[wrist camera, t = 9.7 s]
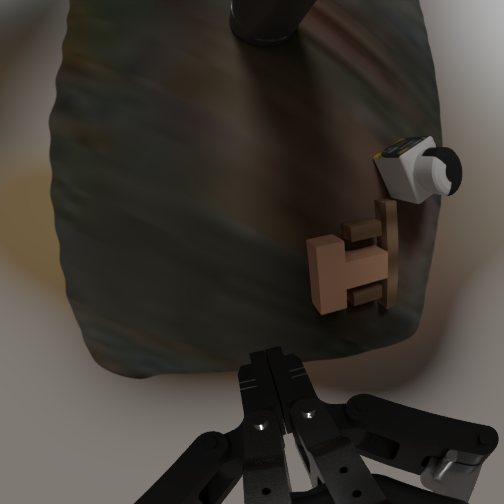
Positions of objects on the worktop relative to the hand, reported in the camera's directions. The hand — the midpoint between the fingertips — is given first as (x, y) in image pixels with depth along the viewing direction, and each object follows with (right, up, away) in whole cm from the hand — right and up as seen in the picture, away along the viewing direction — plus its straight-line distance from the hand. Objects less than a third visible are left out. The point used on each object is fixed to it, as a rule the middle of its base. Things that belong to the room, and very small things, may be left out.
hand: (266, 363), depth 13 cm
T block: (+13, +3, +28) cm, 31 cm away
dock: (+17, +5, +28) cm, 33 cm away
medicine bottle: (+21, +18, +25) cm, 38 cm away
